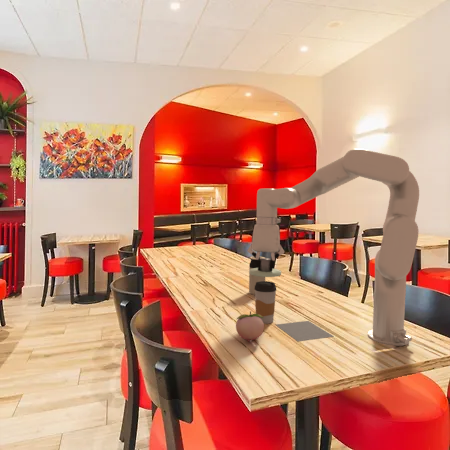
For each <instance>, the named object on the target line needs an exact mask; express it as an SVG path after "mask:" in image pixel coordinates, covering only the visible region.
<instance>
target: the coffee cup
mask: <svg viewBox="0 0 450 450" xmlns="http://www.w3.org/2000/svg"><path fill="white" fill-rule="evenodd" d="M254 289H255V295H254V297H255V298H254V299H255V301H254V303H255V314H259V315H261V316H262V317H263V318H262V317H260V318H261V319H262V321H263V323H264V325H265V324H267V325H268V324H272V323H273V322H274V316H275V308H276V307H275V306H276V293H277V286H276V283H275V282H272V281H268V280H267V281H266V280H265V281H260V282H256V285H255V288H254Z"/></svg>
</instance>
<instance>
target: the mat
mask: <svg viewBox="0 0 450 450" xmlns="http://www.w3.org/2000/svg"><path fill="white" fill-rule="evenodd" d="M275 326H277V328H279V329H280V330H282V331H283V332H284V333H286V335H288V336H290V337H291V338H292V339H294V340H295V341H296V342H303V341H304V342H305V341H311V340H319V339H325V338H334V337H335V336H334V335H333V334H331V333H329V332H328V331H327V330H324V329H323V328H322V327H319V326H318V325H316V324H314V323H313V322H311V321H310V320H303V321H294V322H287V323H286V322H285V323H277V324H275Z"/></svg>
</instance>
